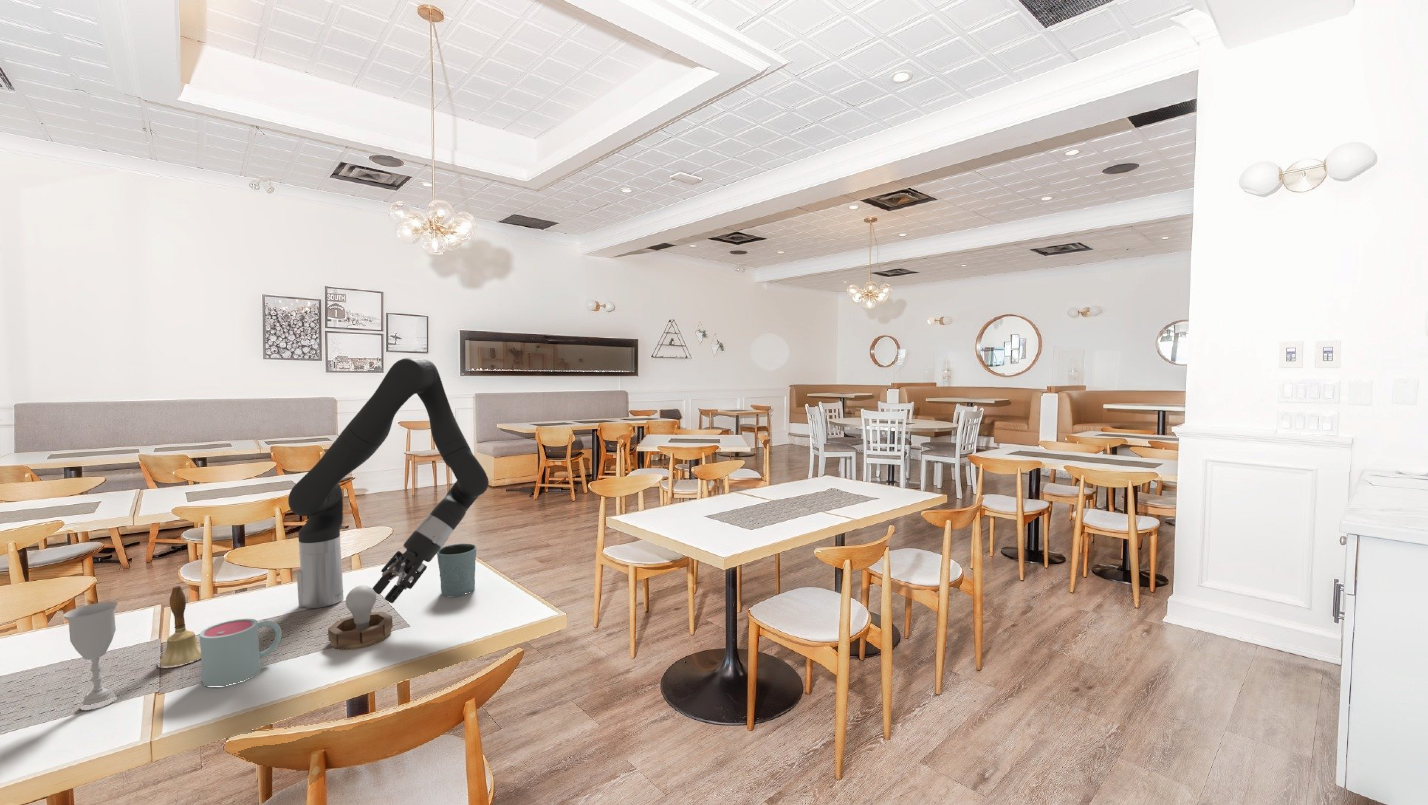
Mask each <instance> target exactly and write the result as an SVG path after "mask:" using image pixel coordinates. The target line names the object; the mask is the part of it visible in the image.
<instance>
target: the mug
mask: <svg viewBox="0 0 1428 805" xmlns="http://www.w3.org/2000/svg"><path fill="white" fill-rule="evenodd" d="M262 628H271V629H272V630H273V631H274V640H273V642H272V643H271V645H270V646H269V647H268V648H266V649H265V650H262V651H261V650H260V640H259V629H262ZM282 634H283V633H282V629H281V627H280V625H279V624H278V623H277V622H275V621H272V620H262V621H260V622H258V620H257V619H254V618H238V619H232V620H226V621H221V622H220V623H216V624H212V625H211V626H208V627H206V628H204V629H203V630H202V631H200V633H199V643H200V644H199V645H200V648H201V660H200V661H201V675H202V685H203V684H204V685H205V686H226V685H229V684H233V683H238V682H240V681H244V680H246V679H248V678H251V677H252V676H254V675H256V674H257V673H258V672H259V671H260V672H261V659H260V658H264V657H267V656H268V655H270V654H272V653H273V652H274V651H275V650H276V649H277V647H278V646H279V645H280V643H281V639H282ZM260 672H259V673H260ZM259 673H258V674H259ZM258 674H257V675H258ZM257 675H256V676H257ZM254 677H255V676H254ZM252 678H253V677H252ZM252 678H251V679H252ZM246 681H247V680H246ZM244 682H245V681H244ZM204 685H203V686H204ZM205 686H204V687H205Z"/></svg>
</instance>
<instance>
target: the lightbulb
mask: <svg viewBox="0 0 1428 805" xmlns="http://www.w3.org/2000/svg"><path fill="white" fill-rule="evenodd" d="M372 588H373V587H371V586H368V585H358V586H355V587H354V588H352V589H351V590H350V591H349V592H348V593H347V595H346V598H345V605H346V608H347V609H348V611H349V612H350V613H351V616H353V618H354V623H355V624H356V631H359V630H363V629H367V628H369V621H370V614H371V612H372V610H373V608H374V606H375V605H376V602H377V593H375V591H374V590H373V589H372Z"/></svg>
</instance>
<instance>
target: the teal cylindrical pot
mask: <svg viewBox="0 0 1428 805" xmlns="http://www.w3.org/2000/svg"><path fill="white" fill-rule="evenodd" d="M436 557H437V563H438V568H439V570H438V571H439V578H440V592H441V595H442V596H444V597H447V596H456V597H461V596H460V595H462V596H464V595H463V594H465V593H469V592H471V591H472V590H474V591H475V589H476V587H475V586H476V579H475V578H476V560H477V559H476V557H477V545H475V544H472V543H455V544H448V545H446V546H445V545H444V546H442V547H441V548H440V550H439V551H438V552H437V554H436ZM471 593H472V592H471ZM469 594H470V593H469Z"/></svg>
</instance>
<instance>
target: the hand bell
mask: <svg viewBox="0 0 1428 805" xmlns="http://www.w3.org/2000/svg"><path fill="white" fill-rule="evenodd" d="M186 606H187V599H186V595H185V593H184V591H183V589H182V587H181V586H180V585H177V586H173V587H172V590H171V593H170V596H169V607H170V611H171V613H172V614H173V618H174V633H173V634H171V635H170V636H169V637H168V638H167V639H166V640H167V641H166V649H165V652H164V654H163V656H162V657H161V659H159V661H160V664H161V665H163V666H174V665H180V664H185V663H189V662H190V661H195V660H197V659H199V658H201V648H200V644H199V642H198V641H197V637H196V633H195V632H194V631H193V630H187V629H186V622H185V621H186V620H185V610H186Z"/></svg>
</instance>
